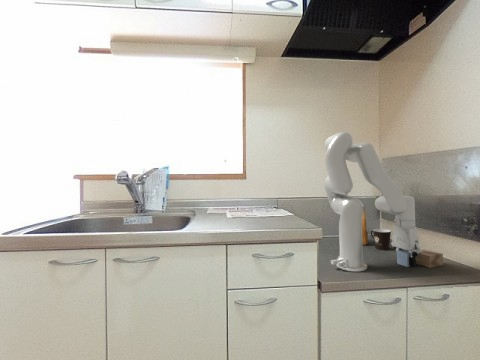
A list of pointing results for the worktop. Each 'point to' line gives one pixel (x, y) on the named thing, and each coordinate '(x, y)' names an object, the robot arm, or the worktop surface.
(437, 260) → the block
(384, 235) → the coffee mug
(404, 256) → the blue block
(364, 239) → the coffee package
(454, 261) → the worktop surface
